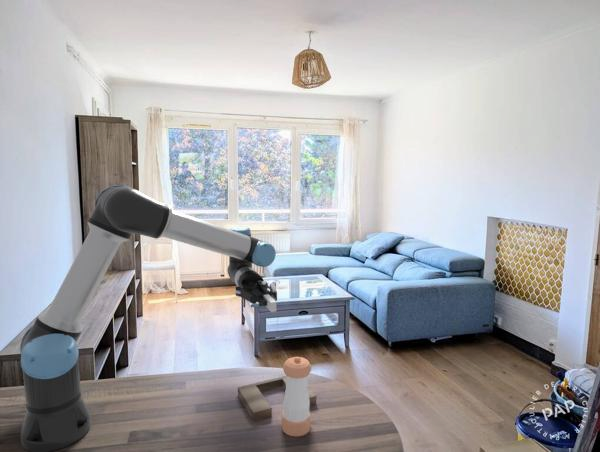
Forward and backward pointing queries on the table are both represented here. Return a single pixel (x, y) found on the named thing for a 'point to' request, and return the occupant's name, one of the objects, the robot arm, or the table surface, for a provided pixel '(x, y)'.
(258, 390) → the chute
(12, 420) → the table surface
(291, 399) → the salt shaker
